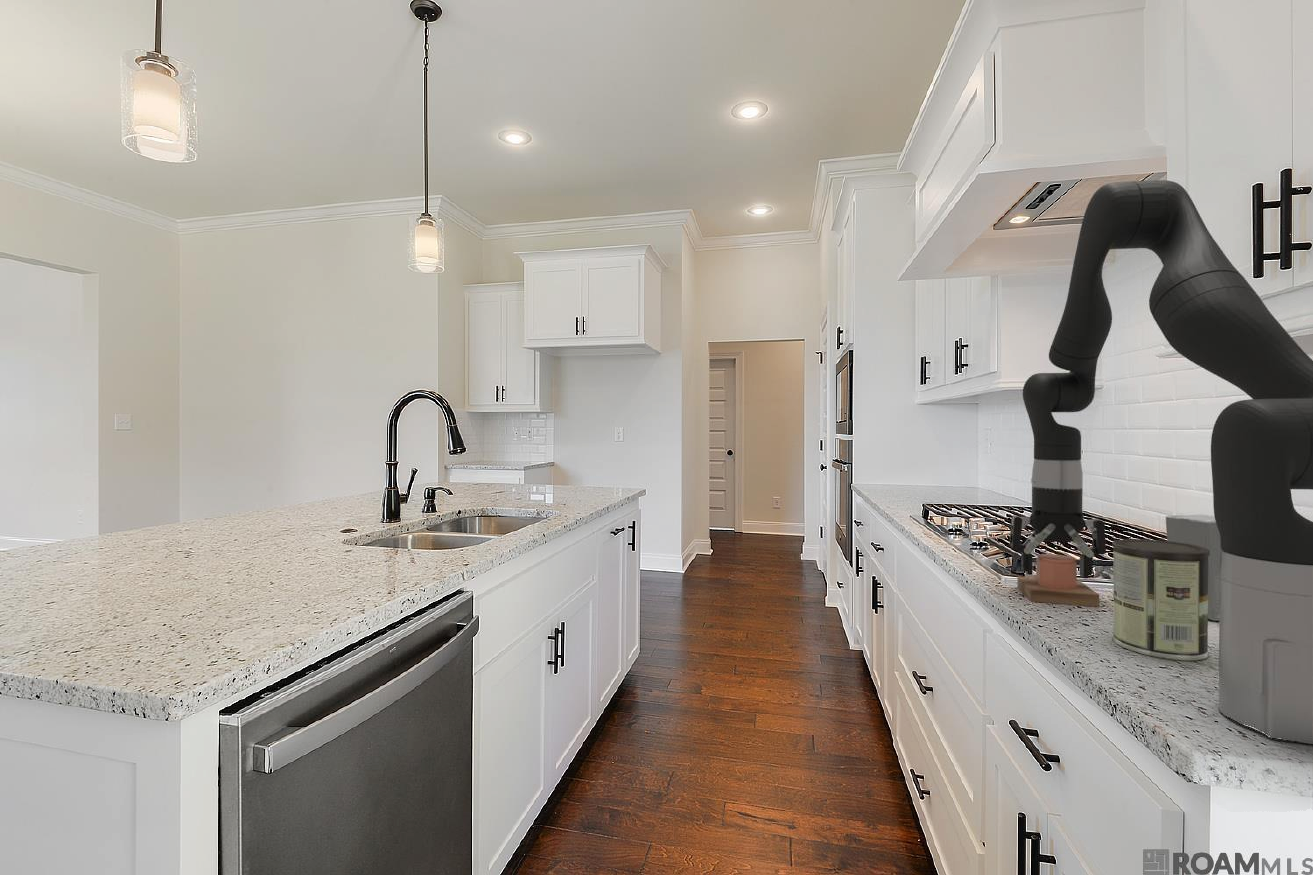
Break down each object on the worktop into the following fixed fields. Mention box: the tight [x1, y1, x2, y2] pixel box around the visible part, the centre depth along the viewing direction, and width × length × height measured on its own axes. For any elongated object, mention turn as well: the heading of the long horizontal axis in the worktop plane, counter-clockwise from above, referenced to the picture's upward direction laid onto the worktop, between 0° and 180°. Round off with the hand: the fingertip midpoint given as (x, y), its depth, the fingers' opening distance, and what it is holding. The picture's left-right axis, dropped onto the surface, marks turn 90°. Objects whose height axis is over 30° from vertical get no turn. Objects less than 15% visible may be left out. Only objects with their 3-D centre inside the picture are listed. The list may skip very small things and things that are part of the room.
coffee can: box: [1111, 538, 1210, 662], centre depth 84 cm, size 10×10×14 cm
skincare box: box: [1165, 514, 1221, 622], centre depth 98 cm, size 8×7×16 cm
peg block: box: [1016, 576, 1100, 608], centre depth 108 cm, size 10×10×6 cm
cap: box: [1035, 553, 1078, 590], centre depth 108 cm, size 6×6×5 cm
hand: (1056, 575), depth 108 cm, fingers open, 8 cm apart
